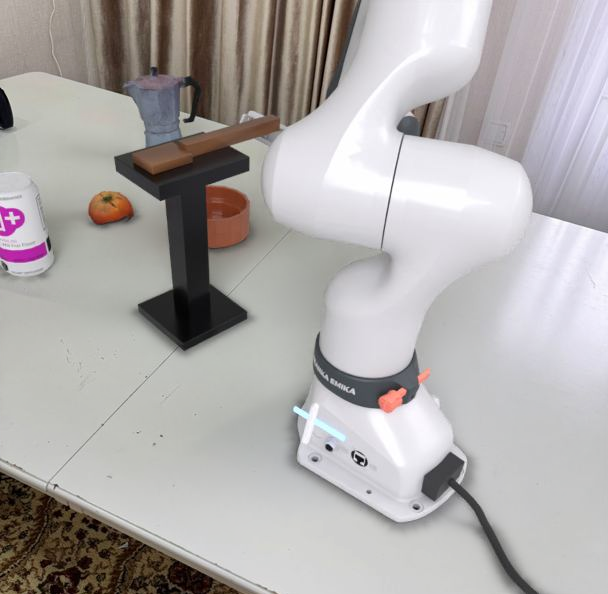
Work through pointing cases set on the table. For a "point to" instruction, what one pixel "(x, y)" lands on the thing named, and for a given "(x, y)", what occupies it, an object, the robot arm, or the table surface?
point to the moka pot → (161, 104)
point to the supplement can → (23, 227)
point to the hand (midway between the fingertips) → (265, 130)
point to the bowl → (226, 216)
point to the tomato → (109, 207)
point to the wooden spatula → (203, 144)
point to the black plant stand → (188, 245)
